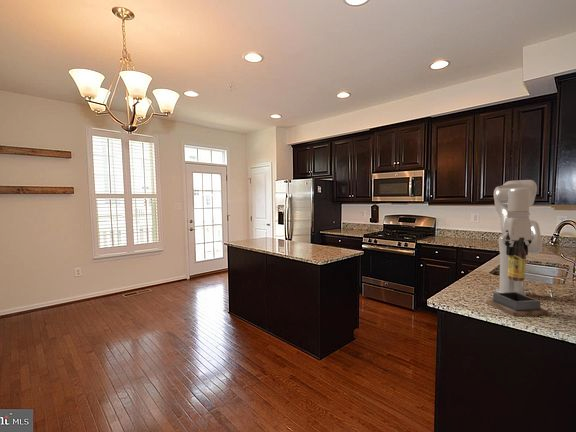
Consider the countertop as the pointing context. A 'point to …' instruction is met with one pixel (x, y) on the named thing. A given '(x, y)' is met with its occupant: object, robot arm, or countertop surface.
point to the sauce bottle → (517, 261)
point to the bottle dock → (516, 304)
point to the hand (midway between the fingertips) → (516, 254)
